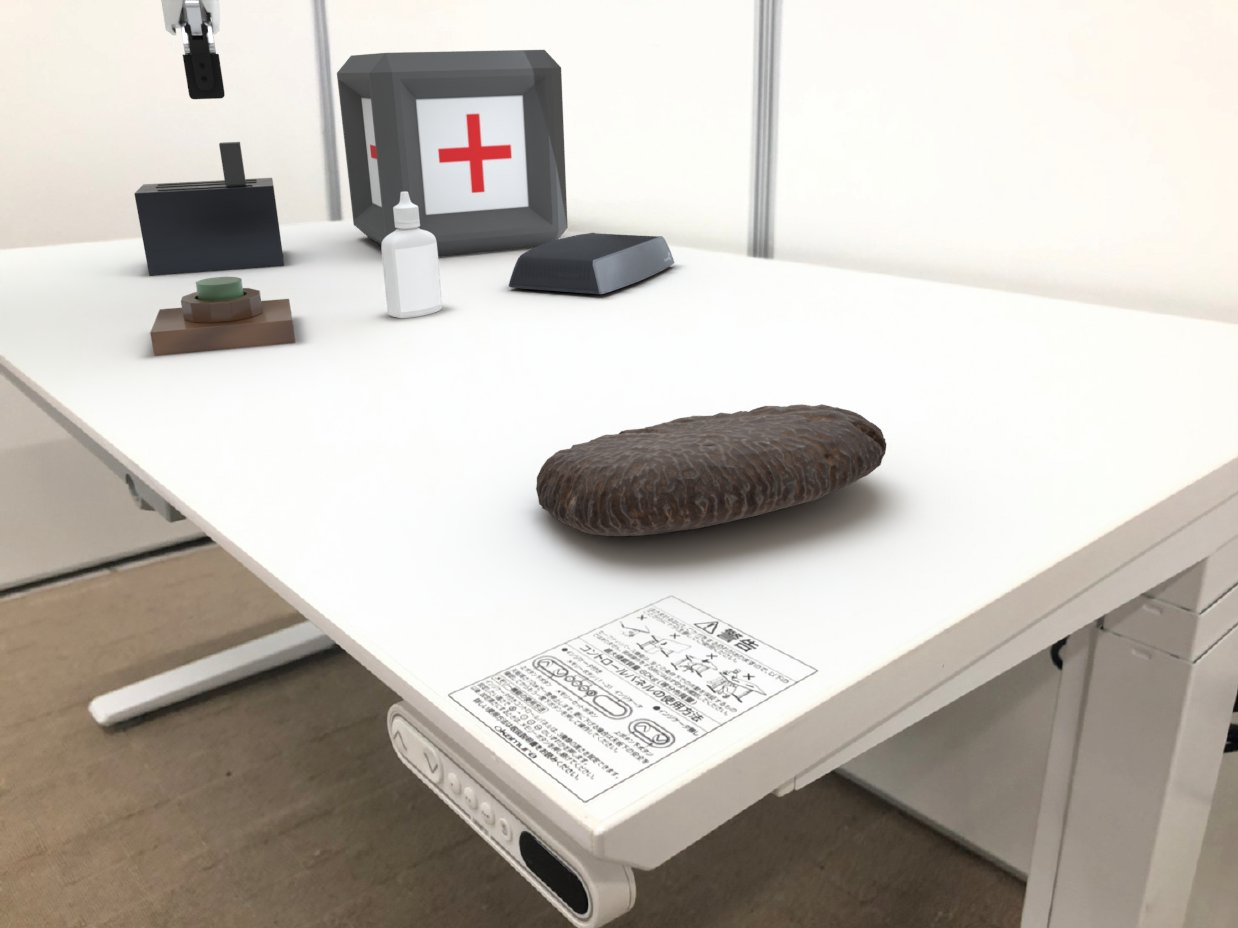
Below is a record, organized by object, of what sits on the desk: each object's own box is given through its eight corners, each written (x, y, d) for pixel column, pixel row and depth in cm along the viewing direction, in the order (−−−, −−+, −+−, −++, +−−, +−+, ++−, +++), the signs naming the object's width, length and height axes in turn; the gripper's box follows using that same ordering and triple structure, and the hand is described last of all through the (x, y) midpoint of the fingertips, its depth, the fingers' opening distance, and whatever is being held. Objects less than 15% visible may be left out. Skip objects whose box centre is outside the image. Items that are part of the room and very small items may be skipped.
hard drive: (680, 267, 127) (680, 233, 126) (607, 299, 111) (606, 260, 110) (585, 261, 133) (584, 228, 131) (502, 290, 117) (499, 253, 115)
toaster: (149, 276, 130) (133, 192, 126) (156, 262, 140) (142, 183, 136) (284, 266, 134) (273, 184, 131) (282, 253, 144) (272, 176, 141)
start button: (197, 305, 96) (194, 286, 95) (199, 297, 99) (196, 278, 99) (244, 301, 97) (241, 282, 96) (244, 293, 100) (241, 275, 100)
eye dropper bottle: (446, 315, 106) (436, 192, 101) (389, 320, 104) (376, 196, 100) (440, 306, 110) (430, 188, 105) (385, 311, 108) (372, 191, 104)
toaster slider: (225, 186, 130) (219, 143, 128) (225, 184, 132) (219, 142, 130) (245, 184, 130) (239, 142, 129) (246, 183, 132) (240, 141, 130)
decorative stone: (756, 435, 70) (758, 361, 68) (925, 501, 59) (933, 416, 57) (497, 505, 60) (491, 421, 58) (643, 601, 49) (641, 501, 47)
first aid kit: (352, 238, 155) (331, 56, 146) (512, 224, 165) (502, 52, 156) (392, 263, 134) (371, 52, 125) (574, 246, 144) (566, 49, 135)
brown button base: (154, 356, 93) (146, 312, 92) (163, 331, 102) (155, 290, 101) (295, 343, 96) (289, 300, 95) (292, 320, 105) (286, 280, 104)
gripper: (141, -83, 106) (171, 97, 112) (127, -110, 91) (163, 101, 97) (220, -82, 108) (245, 94, 114) (220, -108, 93) (249, 98, 99)
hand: (208, 97), depth 106 cm, fingers open, 9 cm apart
